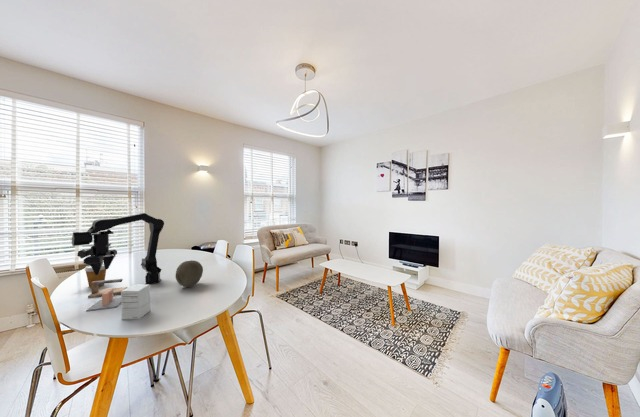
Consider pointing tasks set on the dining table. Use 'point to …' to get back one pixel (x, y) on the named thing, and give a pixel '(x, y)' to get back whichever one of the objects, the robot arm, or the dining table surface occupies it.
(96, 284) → the stand
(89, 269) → the disposable coffee cup
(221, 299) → the dining table surface
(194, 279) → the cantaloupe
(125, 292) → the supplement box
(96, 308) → the coaster
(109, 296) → the u-shaped block
